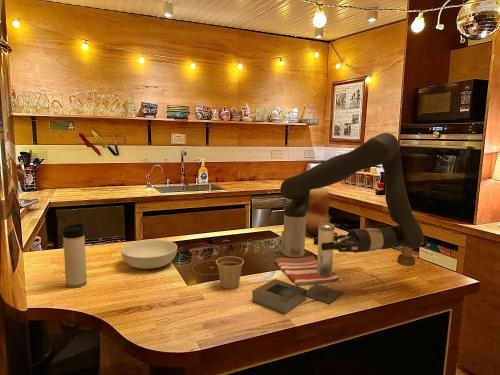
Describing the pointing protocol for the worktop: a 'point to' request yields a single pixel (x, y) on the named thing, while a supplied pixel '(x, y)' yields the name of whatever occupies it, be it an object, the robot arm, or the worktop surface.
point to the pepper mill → (406, 256)
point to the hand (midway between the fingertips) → (318, 244)
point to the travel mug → (74, 255)
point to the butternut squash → (317, 210)
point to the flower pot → (229, 271)
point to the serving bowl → (149, 253)
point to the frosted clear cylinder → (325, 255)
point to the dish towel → (304, 271)
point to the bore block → (283, 303)
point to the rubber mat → (323, 293)
